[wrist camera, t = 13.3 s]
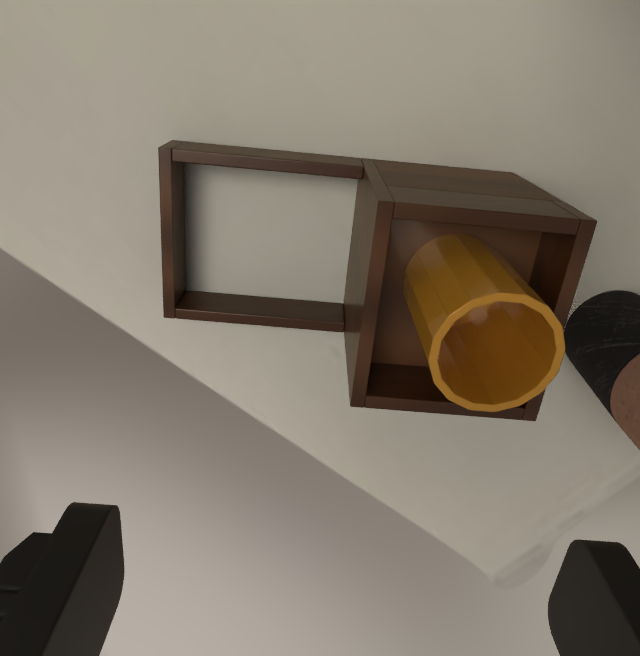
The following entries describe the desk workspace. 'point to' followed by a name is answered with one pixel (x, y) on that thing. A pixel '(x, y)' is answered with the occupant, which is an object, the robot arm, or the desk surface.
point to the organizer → (387, 260)
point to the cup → (480, 325)
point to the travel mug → (609, 354)
